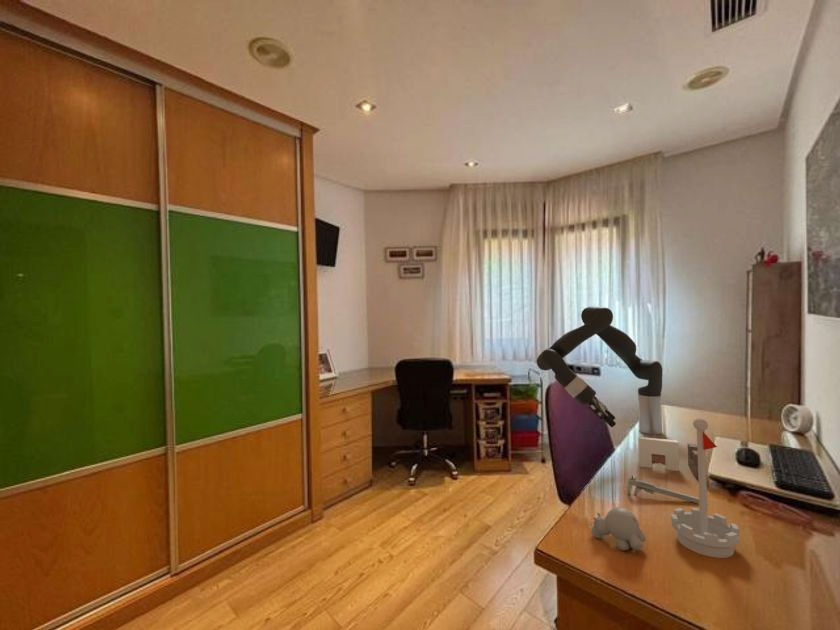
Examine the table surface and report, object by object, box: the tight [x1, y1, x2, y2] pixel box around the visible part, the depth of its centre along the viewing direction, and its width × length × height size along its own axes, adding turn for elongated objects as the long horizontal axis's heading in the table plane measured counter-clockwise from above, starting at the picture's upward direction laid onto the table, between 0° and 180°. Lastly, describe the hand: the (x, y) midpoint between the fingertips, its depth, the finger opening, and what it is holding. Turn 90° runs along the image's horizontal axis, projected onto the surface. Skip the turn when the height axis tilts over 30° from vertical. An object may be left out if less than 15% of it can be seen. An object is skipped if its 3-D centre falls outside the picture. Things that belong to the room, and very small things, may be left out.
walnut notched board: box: [687, 442, 699, 480], centre depth 131 cm, size 12×2×8 cm, turn 154°
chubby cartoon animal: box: [588, 507, 647, 551], centre depth 92 cm, size 7×12×8 cm, turn 46°
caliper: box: [626, 474, 709, 506], centre depth 113 cm, size 20×1×6 cm, turn 69°
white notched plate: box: [637, 436, 680, 472], centre depth 136 cm, size 2×12×10 cm, turn 64°
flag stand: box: [670, 417, 740, 559], centre depth 91 cm, size 13×13×30 cm
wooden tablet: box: [651, 454, 665, 466], centre depth 150 cm, size 27×10×2 cm, turn 151°
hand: (613, 422), depth 142 cm, fingers open, 8 cm apart
